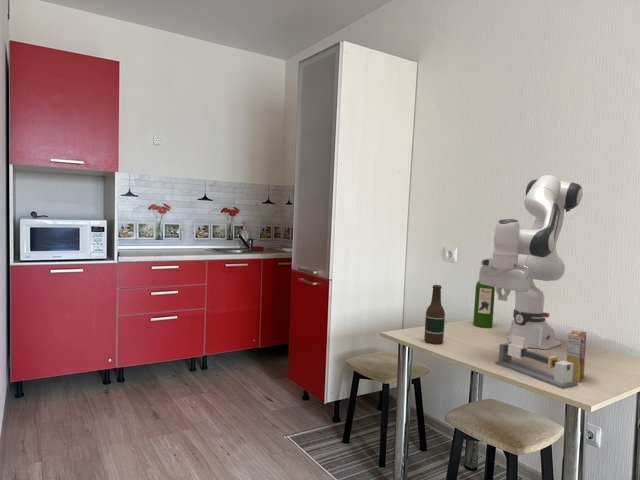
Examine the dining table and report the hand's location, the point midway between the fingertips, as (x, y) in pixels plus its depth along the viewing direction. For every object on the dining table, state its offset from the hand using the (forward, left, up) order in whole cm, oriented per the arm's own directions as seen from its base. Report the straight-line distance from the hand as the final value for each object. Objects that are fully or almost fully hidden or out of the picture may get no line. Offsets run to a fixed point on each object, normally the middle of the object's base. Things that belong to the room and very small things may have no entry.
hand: (502, 300), depth 170 cm
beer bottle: (+6, -28, -23) cm, 37 cm away
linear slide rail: (0, +15, -23) cm, 27 cm away
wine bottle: (-39, -42, -23) cm, 62 cm away
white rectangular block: (0, +8, -19) cm, 20 cm away
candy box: (-10, +23, -23) cm, 34 cm away
